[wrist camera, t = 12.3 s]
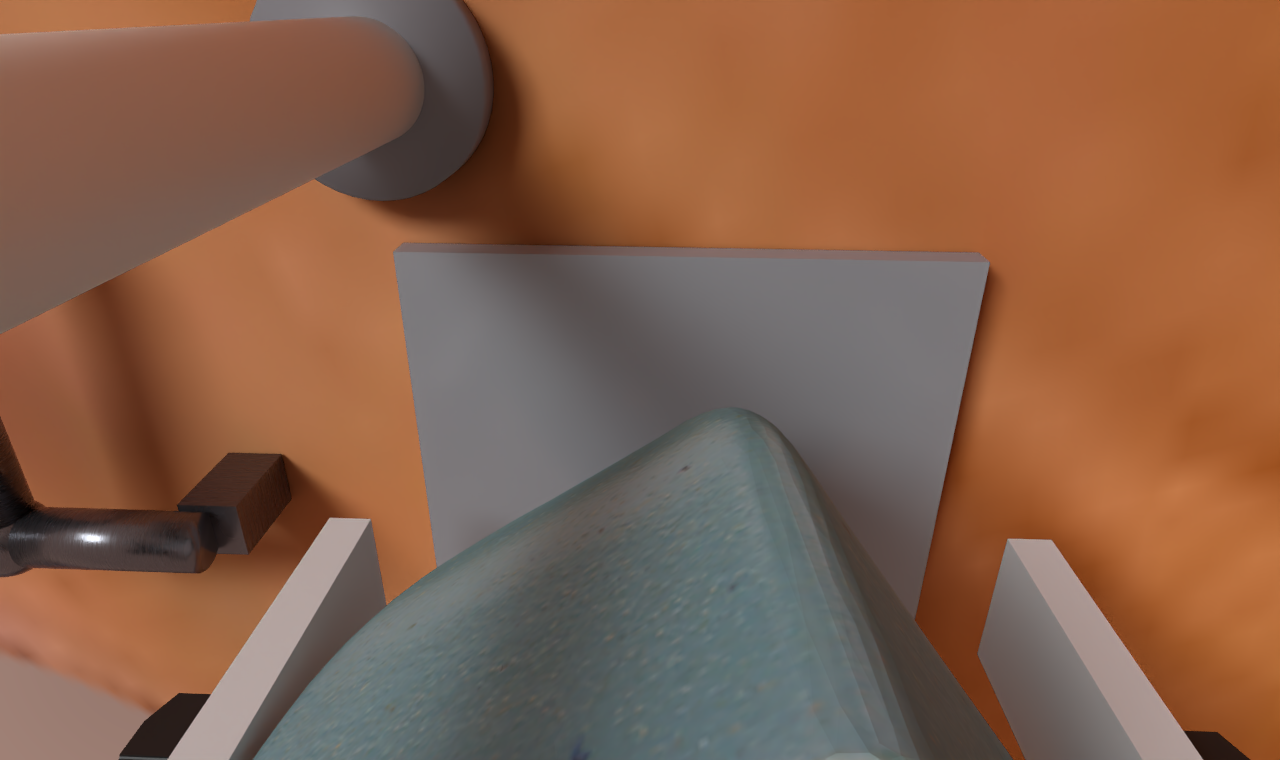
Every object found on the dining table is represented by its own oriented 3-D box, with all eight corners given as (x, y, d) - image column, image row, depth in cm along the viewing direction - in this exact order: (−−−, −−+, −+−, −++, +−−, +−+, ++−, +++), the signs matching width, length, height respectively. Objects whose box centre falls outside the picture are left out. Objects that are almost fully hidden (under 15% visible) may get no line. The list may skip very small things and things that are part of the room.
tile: (403, 242, 15) (393, 251, 15) (978, 252, 15) (990, 261, 14) (458, 661, 20) (452, 679, 19) (892, 677, 20) (898, 696, 19)
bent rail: (-79, 124, 14) (-265, 155, 12) (205, 128, 14) (87, 160, 11) (65, 499, 18) (-49, 593, 15) (293, 506, 18) (220, 602, 15)
